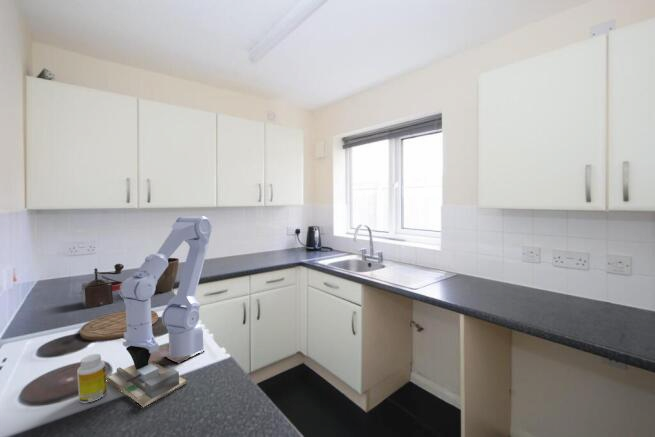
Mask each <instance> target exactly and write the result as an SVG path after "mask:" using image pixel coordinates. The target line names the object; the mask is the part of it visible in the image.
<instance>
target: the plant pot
mask: <svg viewBox="0 0 655 437" xmlns="http://www.w3.org/2000/svg"><path fill="white" fill-rule="evenodd" d="M179 262H180V260H179V258H178V257H169V259H168V267H167V268H166V269H165V271H164V272H163V274H162V275H161V276H160V278H159V279H158V280H157V284H156V289H155V292H156V293H168V292H171V291H172V290H173V289H174V286H175V282H176V279H177V275H178V269H179Z"/></svg>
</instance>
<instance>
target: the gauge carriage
mask: <svg viewBox="0 0 655 437" xmlns="http://www.w3.org/2000/svg"><path fill="white" fill-rule="evenodd" d="M158 375H159V370H158V368H157V367H155V366H153V365H152V364H149V365H147V366H145V367H143V368H140V369H138V370H137V376H135V377H133V378H130V379H128V380H127V382H130V381H132V380H134V379H136V378H137V379H139V380H140V381H142V382H143V383H145V382H146V381H148V380H150V379H152V378H154V377H156V376H158Z"/></svg>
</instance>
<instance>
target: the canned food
mask: <svg viewBox="0 0 655 437" xmlns="http://www.w3.org/2000/svg"><path fill="white" fill-rule="evenodd" d="M100 277H101V278H102V279H103V280H108V281H109V282H110V283H111V284H112V292H118V291H119V290H120V289H121V285H122V283H123V282H124V281H121V280H120V281H119V280H115V279H113V278H110V277H107V276H105V275H101V276H100Z"/></svg>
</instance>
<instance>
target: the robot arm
mask: <svg viewBox="0 0 655 437" xmlns="http://www.w3.org/2000/svg"><path fill="white" fill-rule="evenodd" d="M171 226H172V230H171V231H170V233H169V235H168V236H167V238H166V239H165V240H164V242H163V243H162V245H161V247H159V249H158V251H157V252H156V253H152V254H149V256H146V257H145V258H144V262H143V263H142V264H141V265H140V267H139V268H138V269H137V270H136V271H135V272H134V273H133V275H132V276H130V277H128V278H127V279H125V280H124V281H122V282H123V283H122V285H121V289H120V290H118V293H119V296H120V297H121V298H122V299H123V304H124V305H125V311H126V321H127V332H124V337H123V340H125V341H124V342H123V341H122V346H123V347H125V349H126V351H127V353H129V355H130V357H131V359H132V361H133V365H135V368H136V370H138V369H140V368H143V367H145V366H147V365H148V363H149V360H151V359H150V358H151V355H152V354H153V353H155V352H157V351H159V342H157V341H156V338H155V336H154V334H153V326H152V318H151V311H152V302H151V298H152V296H153V295H154V294H155V292H156V284H157V280H158V279H159V278H160V276H161V275H162V274H163V272H164V271H165V269H166V268H167V267H168V259H169V258H171V256H172V255H173V254H174V253H175V252H176V251H177V249H178V248H180V246H181V245H182V244H183V242H184V241H185V242H186V243H187V244H188V247H189V248H188V252H187V256H186V259H185V263H184V266H183V270H182V273H181V278H180V280H179V285H178V287H177V292H176V295H174V296H173V297H171V298H170V299H169V300H168V303H167V304H166V307H165V309H163V312H162V314H161V321H162V324H163V325H164V326H166V330H167V332H168V349H169V350H168V351H169V352H168V353H170V355H171V356H173V357H182V356H187V355H191V354H193V353H195V352H198V351H201V350H202V351H204V350H205V351H206V349H205V348H204V330H203V327H202V325H201V323H199V321H200V320H199V319H200V307H201V304H200V303H199V302H198V300H197V299H196V294H197V290H198V286H199V282H200V278H201V274H202V271H203V268H204V267H203V266H204V265H205V264H204V263H205V259H206V256H207V251H208V248H209V241H210V238H211V233H212V231H213V226H212V223H211V220H210V219H209V218H208V217H207V216H186V215H180V216H178V217H177V218H176V220H175V222H173V223H172V225H171ZM202 351H201V352H202ZM205 351H204V352H205ZM202 353H203V352H202Z"/></svg>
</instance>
